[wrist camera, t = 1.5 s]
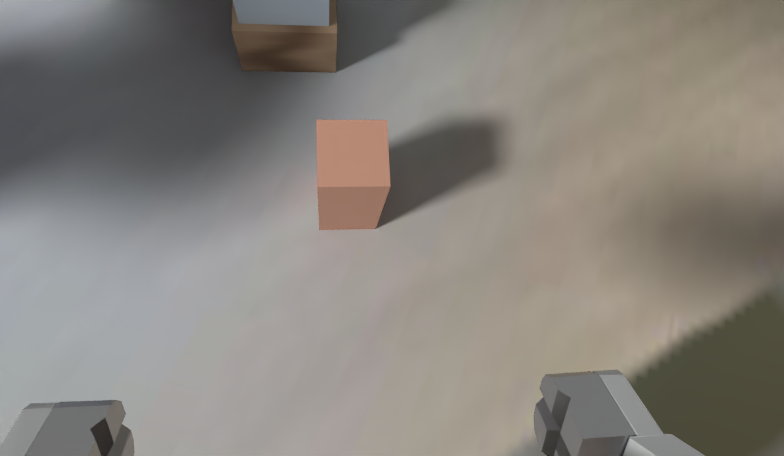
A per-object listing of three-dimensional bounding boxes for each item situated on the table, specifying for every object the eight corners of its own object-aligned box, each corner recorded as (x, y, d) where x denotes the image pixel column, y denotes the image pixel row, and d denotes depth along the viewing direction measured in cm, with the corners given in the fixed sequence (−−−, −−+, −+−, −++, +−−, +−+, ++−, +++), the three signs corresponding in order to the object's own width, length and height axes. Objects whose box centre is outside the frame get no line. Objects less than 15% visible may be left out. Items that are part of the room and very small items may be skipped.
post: (319, 229, 37) (317, 187, 29) (318, 176, 38) (316, 119, 30) (375, 228, 38) (390, 186, 29) (373, 176, 39) (386, 120, 30)
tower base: (242, 71, 40) (231, 30, 35) (244, -8, 42) (233, -57, 37) (336, 73, 41) (337, 33, 36) (333, -4, 43) (334, -52, 38)
